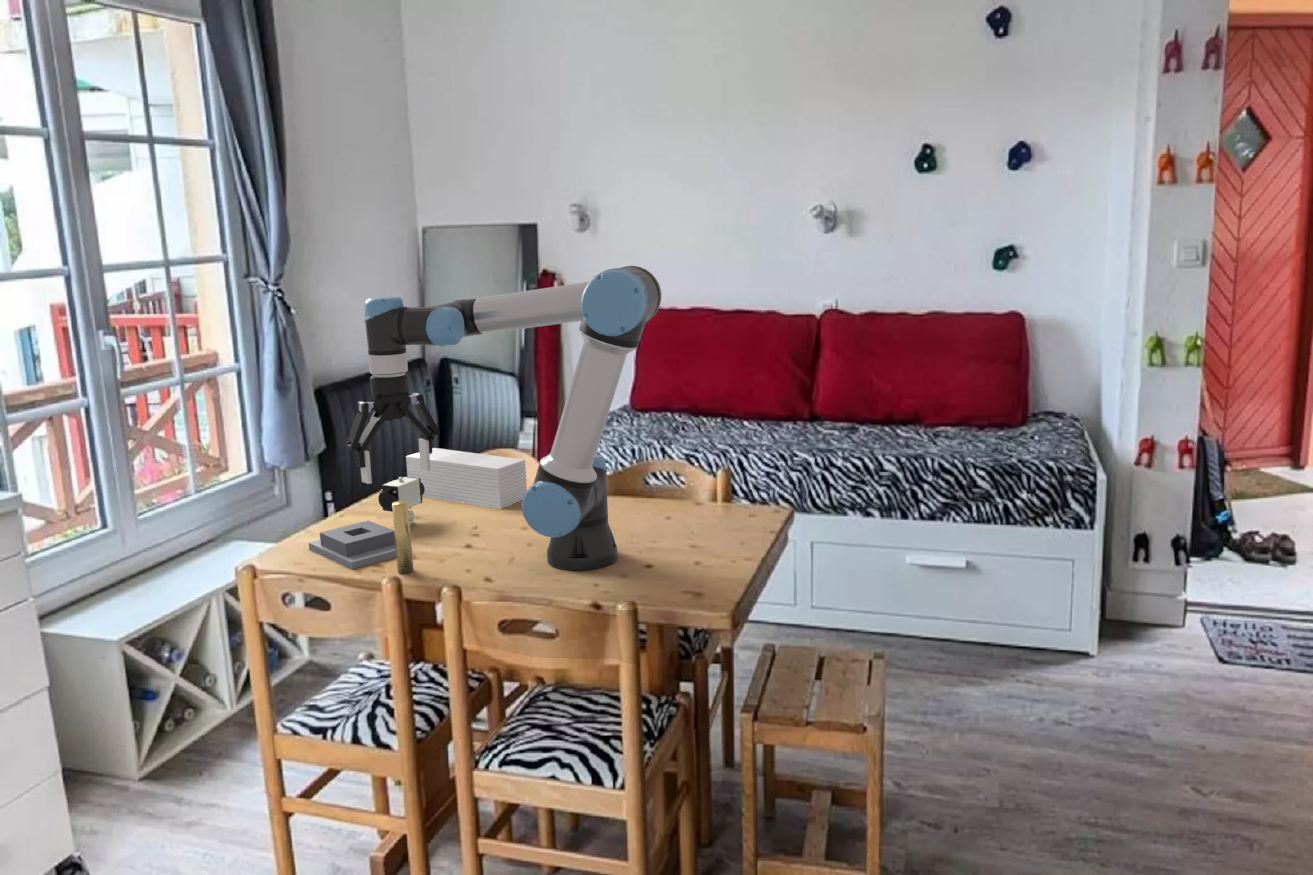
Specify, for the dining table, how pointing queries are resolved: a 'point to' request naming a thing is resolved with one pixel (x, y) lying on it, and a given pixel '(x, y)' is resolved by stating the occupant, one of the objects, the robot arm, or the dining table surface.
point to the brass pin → (402, 537)
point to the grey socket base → (356, 544)
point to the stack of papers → (471, 477)
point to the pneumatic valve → (402, 494)
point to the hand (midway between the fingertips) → (396, 476)
